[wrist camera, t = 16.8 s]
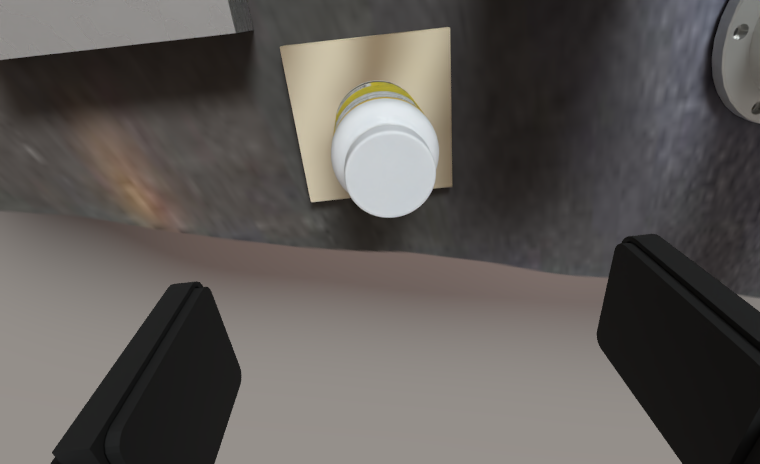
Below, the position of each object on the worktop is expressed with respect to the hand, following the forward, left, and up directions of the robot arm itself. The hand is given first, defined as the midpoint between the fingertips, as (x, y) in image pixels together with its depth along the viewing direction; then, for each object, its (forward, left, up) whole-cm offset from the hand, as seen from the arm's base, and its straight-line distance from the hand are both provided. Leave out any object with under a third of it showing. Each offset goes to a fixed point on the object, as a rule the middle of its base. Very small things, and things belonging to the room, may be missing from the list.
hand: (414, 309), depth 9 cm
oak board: (0, 0, -20) cm, 20 cm away
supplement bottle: (0, 0, -19) cm, 19 cm away
